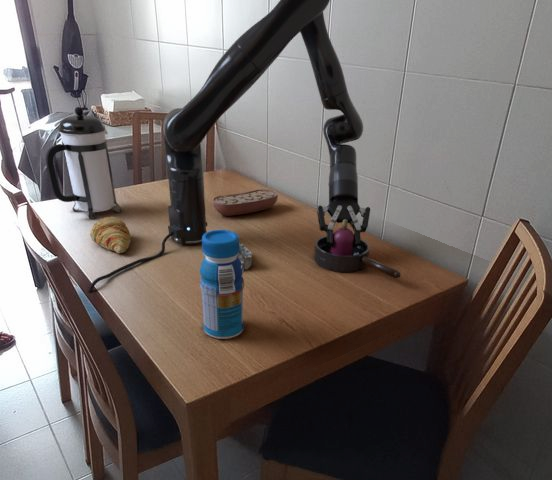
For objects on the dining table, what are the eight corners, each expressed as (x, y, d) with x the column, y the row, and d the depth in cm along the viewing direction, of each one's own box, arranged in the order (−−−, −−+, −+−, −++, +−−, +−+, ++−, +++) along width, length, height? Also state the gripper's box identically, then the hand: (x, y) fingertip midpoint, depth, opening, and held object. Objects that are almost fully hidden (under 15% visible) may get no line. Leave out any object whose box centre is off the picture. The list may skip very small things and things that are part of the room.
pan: (341, 277, 119) (343, 261, 116) (302, 258, 128) (303, 242, 125) (378, 263, 127) (381, 247, 124) (339, 246, 135) (341, 231, 133)
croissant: (135, 266, 128) (146, 238, 126) (99, 256, 121) (109, 227, 119) (112, 237, 142) (121, 212, 140) (78, 227, 136) (87, 201, 133)
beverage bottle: (195, 335, 96) (188, 240, 84) (214, 315, 102) (210, 224, 91) (233, 344, 93) (231, 248, 82) (251, 323, 100) (251, 231, 88)
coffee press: (79, 202, 158) (58, 101, 141) (127, 204, 158) (112, 104, 141) (58, 221, 144) (32, 111, 127) (110, 223, 144) (92, 113, 127)
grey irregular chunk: (253, 269, 121) (253, 254, 119) (223, 272, 119) (223, 256, 117) (245, 252, 129) (245, 238, 127) (217, 254, 128) (217, 240, 125)
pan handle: (401, 278, 115) (402, 271, 114) (396, 280, 114) (397, 273, 113) (364, 261, 122) (365, 254, 121) (359, 263, 121) (360, 256, 120)
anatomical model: (267, 202, 165) (267, 187, 162) (284, 210, 159) (284, 195, 156) (208, 213, 154) (207, 197, 151) (223, 222, 148) (223, 206, 145)
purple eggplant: (341, 265, 123) (346, 225, 117) (325, 258, 127) (329, 218, 121) (356, 260, 127) (361, 220, 120) (340, 253, 130) (344, 213, 124)
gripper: (317, 177, 122) (317, 239, 119) (373, 178, 122) (374, 240, 119) (314, 191, 129) (314, 250, 126) (367, 193, 130) (368, 252, 127)
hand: (343, 245), depth 123 cm, fingers closed on purple eggplant, 5 cm apart
